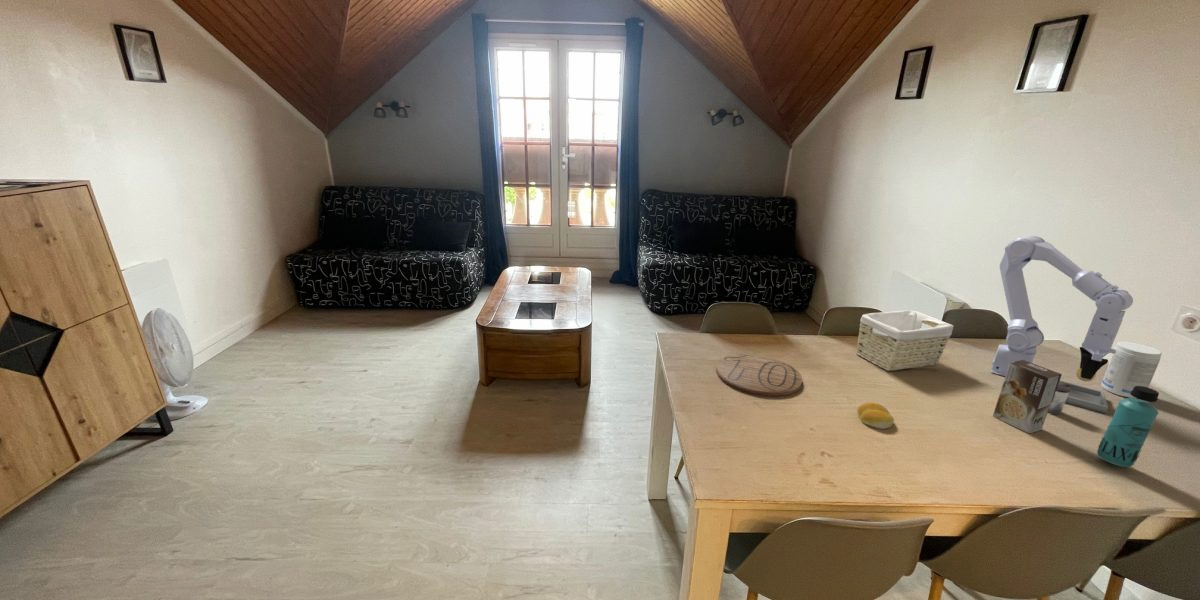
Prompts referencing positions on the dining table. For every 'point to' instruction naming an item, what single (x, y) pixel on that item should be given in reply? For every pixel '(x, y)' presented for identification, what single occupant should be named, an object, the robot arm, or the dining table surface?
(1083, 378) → the ball
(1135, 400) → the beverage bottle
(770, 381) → the trivet
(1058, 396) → the shaker cup
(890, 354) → the storage basket
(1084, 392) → the dish
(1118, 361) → the supplement tub
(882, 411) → the bread roll
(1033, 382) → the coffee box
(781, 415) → the dining table surface
